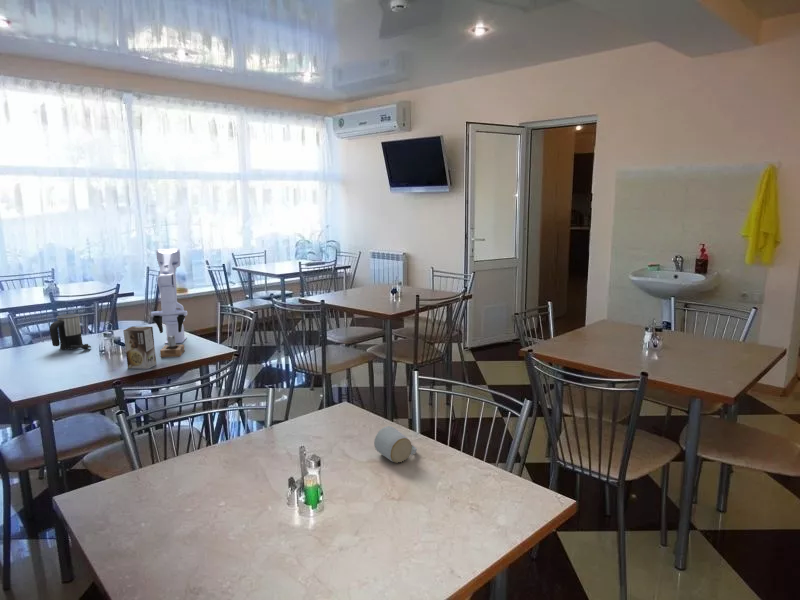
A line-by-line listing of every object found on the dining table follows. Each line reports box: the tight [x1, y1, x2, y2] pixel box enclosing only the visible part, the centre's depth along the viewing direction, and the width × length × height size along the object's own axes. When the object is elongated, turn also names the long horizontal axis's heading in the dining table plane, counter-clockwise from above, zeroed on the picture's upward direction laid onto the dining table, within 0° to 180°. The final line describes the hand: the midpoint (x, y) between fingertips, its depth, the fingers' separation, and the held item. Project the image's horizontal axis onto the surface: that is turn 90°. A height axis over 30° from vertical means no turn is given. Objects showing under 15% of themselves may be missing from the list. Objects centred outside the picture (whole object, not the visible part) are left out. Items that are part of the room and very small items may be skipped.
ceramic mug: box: [373, 425, 417, 464], centre depth 142 cm, size 11×8×8 cm
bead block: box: [159, 344, 186, 358], centre depth 233 cm, size 8×8×3 cm
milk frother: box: [49, 313, 92, 351], centre depth 240 cm, size 14×16×15 cm
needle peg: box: [167, 335, 177, 349], centre depth 233 cm, size 3×3×8 cm
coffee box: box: [122, 325, 157, 370], centre depth 215 cm, size 9×6×16 cm
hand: (170, 332), depth 232 cm, fingers open, 7 cm apart
